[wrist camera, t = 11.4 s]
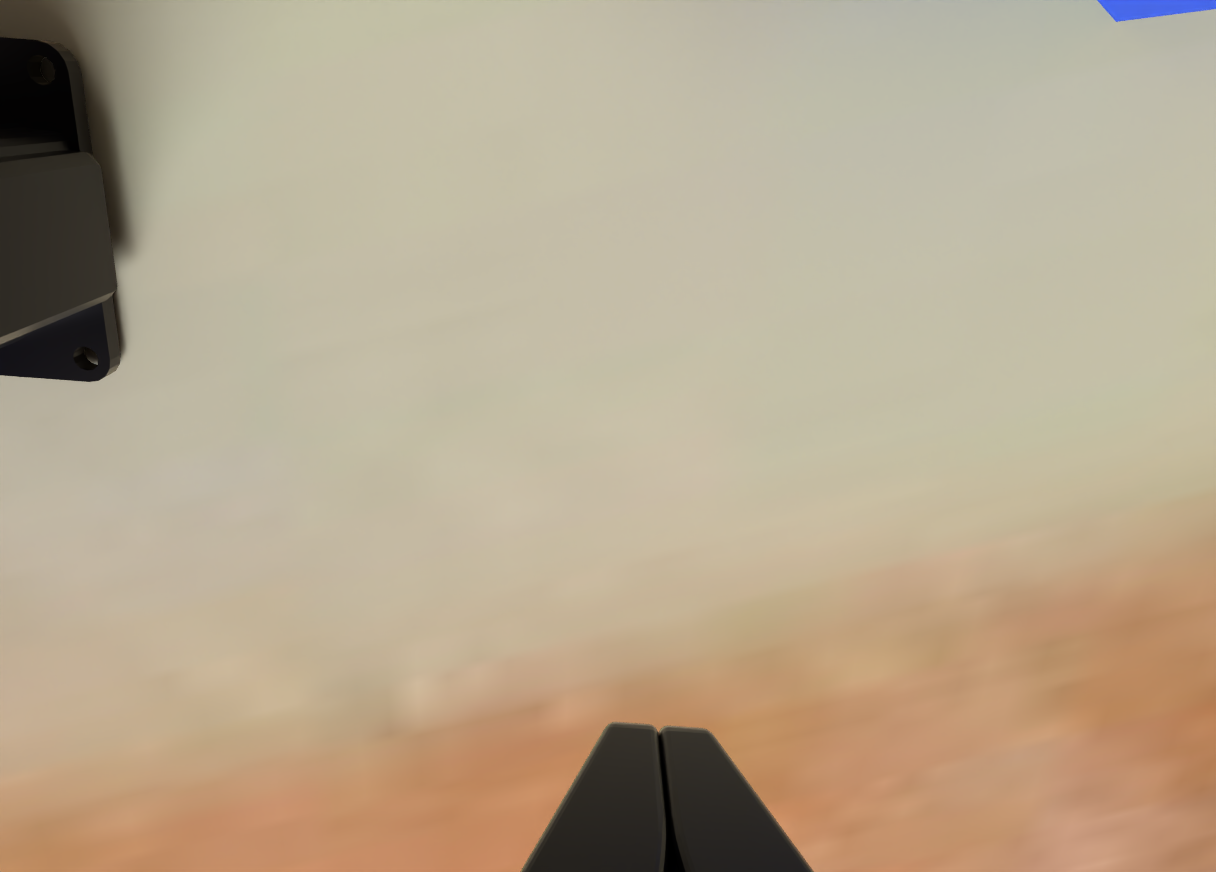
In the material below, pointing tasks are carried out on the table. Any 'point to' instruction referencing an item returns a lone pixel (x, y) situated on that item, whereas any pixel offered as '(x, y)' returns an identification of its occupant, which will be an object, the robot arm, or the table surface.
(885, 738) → the table surface
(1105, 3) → the bracket
